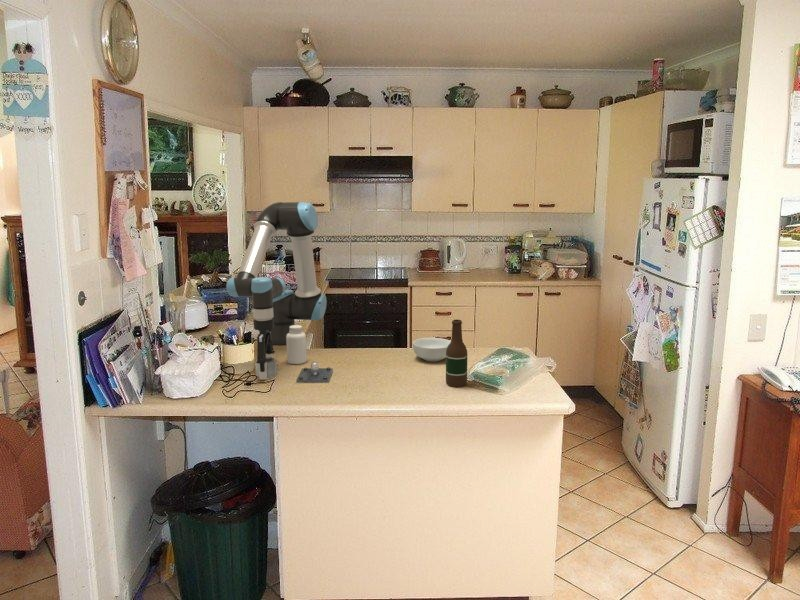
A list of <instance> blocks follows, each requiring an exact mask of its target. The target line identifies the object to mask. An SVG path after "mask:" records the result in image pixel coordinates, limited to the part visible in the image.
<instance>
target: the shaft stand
mask: <svg viewBox="0 0 800 600" xmlns="http://www.w3.org/2000/svg"><path fill="white" fill-rule="evenodd" d="M319 365H320V364H319V361H311V362H310V367H309V368H308V367H303V368H301V370H300V373H299V374H298V376H297V378H296V383H297V382H304V383H306V384H307V383H308V382H309V383H313V384H314V383H330V380H331V378H332V375H331V374H333V372H332V371H334V369H333V368H334V367H329V366H328V367H326V368H324V367H323V368H322V367H321V368H320V366H319ZM330 377H331V378H330Z"/></svg>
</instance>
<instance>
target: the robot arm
mask: <svg viewBox="0 0 800 600" xmlns="http://www.w3.org/2000/svg"><path fill="white" fill-rule="evenodd" d="M318 219H319V218H318V213H317V210H316V208H315V206H314V205H313V204H312V203H311V202H302V201H295V202H281V201H278V202H274V203H272V204H270V205H268V206H267V207H265V208H264V209H263V210H262V211H261V212H260V214H258V216H257V217H256V218H255V221H254V224H253V229H254V231H253V234H252V236H251V239H250V240H249V244H248V246H247V249H246V251H245V254H244V256H243V258H242V261H241V263H240V264H241V265H240V267H239V269H238V273H237V275H236V276H233V277H230V278H229V279H227V282H226V292H227V294H228V295H229V296H230V297H235V298H252V300H251V302H252V309H251V313H253V314H252V315H253V322H252V323H253V330H255V331H259V333H258V335H257V337H256V339H257V343H256V344H257V349H256V350H257V351H256V353H257V354H256V355H257V356H256V357H257V358H256V360H257V361H256V360H255V361H256V363H259V377H260V378H259V380H261V381H262V380H264V381H266V380H268V378H267V365H266V357H272V358H273V354H275V350H274V345H275V346H284V345H286V346H287V344H286V336H287V334H288V333H290V332H289V331H290V330H289V327H290V326H293V325H296V324H295V322H296V321H297V320H299V321H311V322H312V321H320V320H322V319H323V318H324V315H325V314H326V309H327V303H328V302H327V300H328V299H327V297H326V295H325V294H322V292H321V291H322V290H321V288H319V287H318V285H317V277H316V268H315V267H316V266H315V258H314V251H313V240H312V236H313V235H314V233H315V230H317V228H318V226H319V225H318V221H319V220H318ZM279 230H282V231H283V230H284V231H286V235H287V237H289V239H290V240H291V248H292V254H293V255H292V256H293V263H294V270H295V279H296V285H297V286H296V287H297V289H296V290H295V292H294V290H292V289H286V288H287V285H286V282H285V281H284V280H283V279H282V278H281V277H278V276H277V277H271V278H270V277H268V276H265V277H264V276H261V277H260V276H259V277H258V275H259V272H260V269H261V267H262V264H263V262H264V258H265V256H266V253H267V250H268V248H269V244H270V243H271V240H272V238H273V237H274V236H275V235H276V234H277V231H279ZM295 320H296V321H295ZM260 359H262V360H260Z"/></svg>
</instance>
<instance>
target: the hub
mask: <svg viewBox="0 0 800 600" xmlns="http://www.w3.org/2000/svg"><path fill="white" fill-rule="evenodd" d="M260 360H262V359H260ZM256 361H257V359H256V360H254V364H255V366H254V367H255V377H256V376H258V377H259V363H256ZM266 365H267V379H271V377H272V378H274V376H275V377H276V376H277V375H278V366H277V358H275V357H273V356H272V357H266ZM258 377H257V378H258Z"/></svg>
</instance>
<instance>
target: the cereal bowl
mask: <svg viewBox="0 0 800 600" xmlns="http://www.w3.org/2000/svg"><path fill="white" fill-rule="evenodd" d="M450 342H451V339H447V338H441V337H422V338H421V337H420V338H417V339H415V340H414V341H412V350H413V352H414V354H415V355H416V356H417V357H419V358H421V359H423V360H425V361H426V362H439V361H441V360H443V359H446V350H447V347H448V345H449V344H450Z"/></svg>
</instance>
